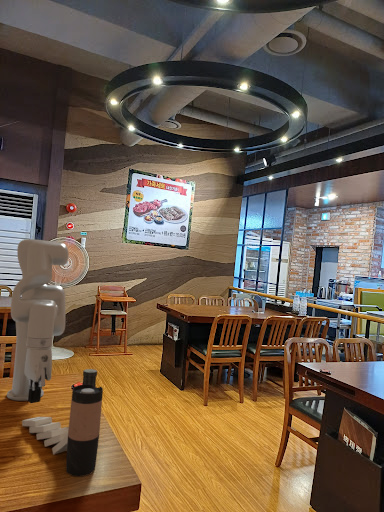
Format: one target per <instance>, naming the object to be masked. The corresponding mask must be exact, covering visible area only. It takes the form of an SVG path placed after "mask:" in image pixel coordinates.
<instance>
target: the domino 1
mask: <svg viewBox="0 0 384 512" xmlns="http://www.w3.org/2000/svg"><path fill="white" fill-rule="evenodd" d="M21 422H22V423H21V424H22V425H21V426H22V427H37V426H40V425H44V424H49V423H53V417H51V416H37V417H32V418H27V419H24V420H21Z"/></svg>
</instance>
